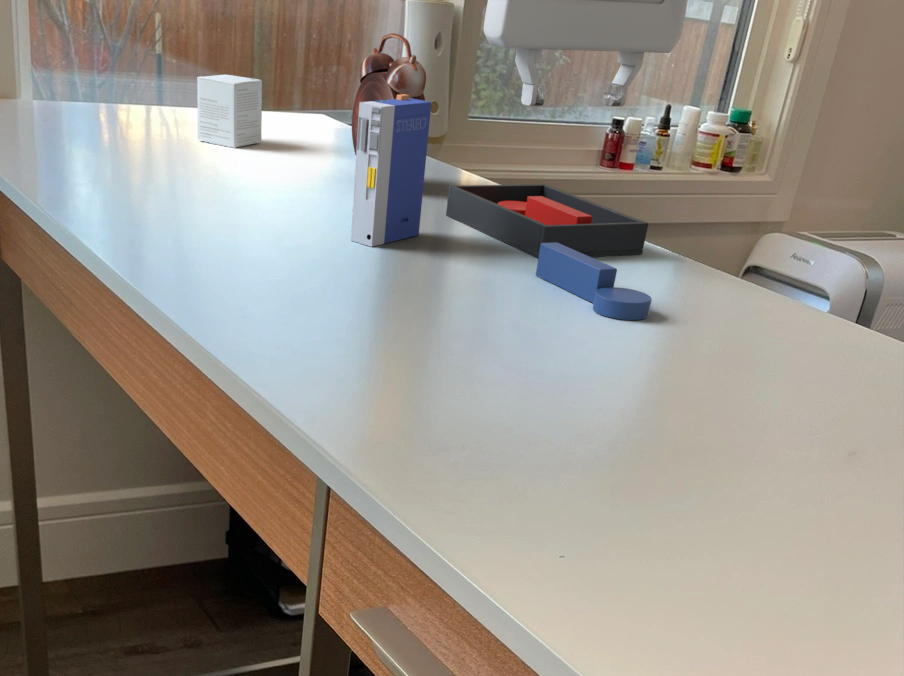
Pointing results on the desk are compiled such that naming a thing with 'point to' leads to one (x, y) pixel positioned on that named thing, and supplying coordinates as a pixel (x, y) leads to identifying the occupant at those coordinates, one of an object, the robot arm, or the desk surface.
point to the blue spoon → (591, 282)
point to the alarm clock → (388, 79)
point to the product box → (229, 110)
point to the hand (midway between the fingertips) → (573, 105)
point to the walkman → (389, 169)
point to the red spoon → (547, 211)
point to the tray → (596, 239)
